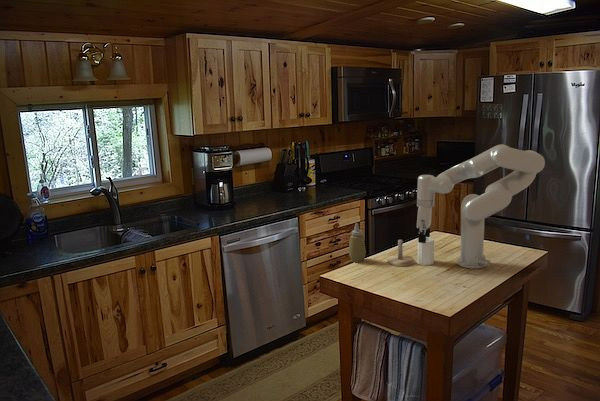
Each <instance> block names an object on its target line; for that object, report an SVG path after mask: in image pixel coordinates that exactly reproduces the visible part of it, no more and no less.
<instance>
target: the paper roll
mask: <svg viewBox="0 0 600 401" xmlns="http://www.w3.org/2000/svg"><path fill="white" fill-rule="evenodd" d="M417 263H418V264H419V265H422V266H423V265H424V266H430V265H434V263H435V239H434V238H433V237H426V243H419V242H418V241H417Z"/></svg>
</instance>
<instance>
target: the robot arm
mask: <svg viewBox="0 0 600 401" xmlns="http://www.w3.org/2000/svg"><path fill="white" fill-rule="evenodd" d="M545 165H546V161H545V158H544V156H543V155H542V154H540V153H538V152H536V151H535V150H531V149H530V150H529V149H528V150H522V149H517V148H514V147H510V146H508V145H506V144H497V145H495V146H493V147H491V148H489V149H487V150H485V151H483V152H481V153H480V154H478V155H476V156H473V157H472V158H470V159H467V160H465V161H462V162H461V163H459V164H457V165H454V166H452V167H450V168H449V169H447V170H445V171H443V172H441V173H440V174H438V175H437V176H434V175H433V174H432V175H431V174H421V175H418V177H417V188H416V189H417V192H416V194H417V195H416V207H417V208H418V209H417V218H416V219H417V220H416V228H417V229H419V230H418V235H417V236H418V238H417V243H418V242H419V243H426V237H430V236H431V224H432V215H433V214H432V213H433V211H432V210H433V209H432V208H434V207H435V198H436V197H435V196H436V193H439V194H449V193H451V192H452V191H453V190H454V186H455V185H456V184H458V183H460V182H463V181H465V180H468V179H476V178H481V177H482V176H484V175H485V174H488V173H489V172H492V171H493V170H495V169H497V168H499V167H501V168H505V169H508V170H511V171H512V172H511V173H509V174H507V175H506V176H504V177H502V178H499V180H496V181H495V182H492V183H491V184H489V185H488V186H487V187H486V188H485V190H484V193H482V194H480V195H478V194H476V193H470V194H468V195H466V196H464V198H463V199H462V201H461V205H460V211H461V212H460V213H461V217H460V218H461V226H460V227H461V229H460V258H458V259H457V260H456V264H457V265H458V266H459V267H461V268H465V269H472V270H473V269H474V270H476V269H483V268H485V267H489V266H490V264H491V260H490V259H486V255H485V254H484V245H485V244H484V243H485V242H484V240H485V219H487V218H489V217H490V216H493V215H495V214H496V213H499V212H500V211H502V210H504V209H505V208H507V207H508V206H510V203H511V201H512V199H513V196H515V195H517V194H518V193H520V192H522V191H523V190H525V189H526V188H528V187H529V186H530V185H531V184H532V183H533V182H534V180H535V178H536V177H537V176H536V175H537V174H538V173H540V172H542V171H543V169H544V167H545ZM430 238H431V237H430Z"/></svg>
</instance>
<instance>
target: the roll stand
mask: <svg viewBox="0 0 600 401" xmlns="http://www.w3.org/2000/svg"><path fill="white" fill-rule="evenodd" d="M403 241H404V240H403V239H397V254H394V255H389V256H388V257H386V263H387V264H388V265H390V266H391V267H392V266H393V267H400V268H401V267H403V268H404V267H410V266H412V265H413V264H414V262H415V260H414V259H415V258H414V257H412V256H410V255H406V254H403V253H404V252H403V246H404V245H403V244H404V242H403Z"/></svg>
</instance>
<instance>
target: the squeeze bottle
mask: <svg viewBox="0 0 600 401" xmlns="http://www.w3.org/2000/svg"><path fill="white" fill-rule="evenodd" d="M348 254H349V257H350V261H352V262H354V263H361V262H364V260H365V257H366V255H367V250H366V244H365V236H364V235H363V231H362V230H361V229H360V226H359V223H358V222H357V223H356V222H355V224H354V229H353V230H351V235H350V236H349V245H348Z"/></svg>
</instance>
